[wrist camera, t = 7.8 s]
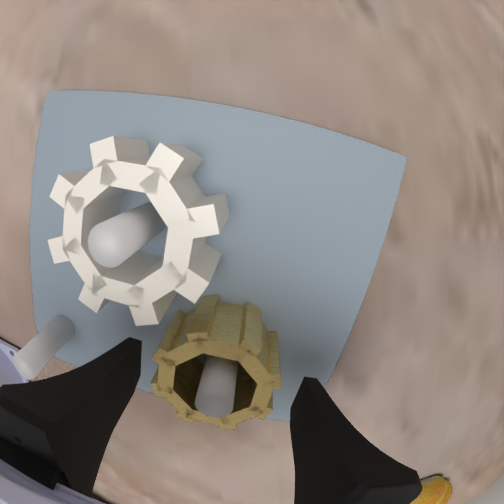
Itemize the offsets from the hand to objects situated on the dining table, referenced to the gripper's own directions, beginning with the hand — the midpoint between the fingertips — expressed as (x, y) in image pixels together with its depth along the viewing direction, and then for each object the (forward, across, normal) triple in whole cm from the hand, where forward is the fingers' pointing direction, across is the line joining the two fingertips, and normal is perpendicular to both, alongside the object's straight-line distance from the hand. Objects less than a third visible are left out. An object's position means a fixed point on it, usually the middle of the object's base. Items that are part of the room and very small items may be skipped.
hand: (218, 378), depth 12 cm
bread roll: (+4, -25, +19) cm, 32 cm away
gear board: (+4, +3, -3) cm, 6 cm away
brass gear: (+3, 0, 0) cm, 3 cm away
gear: (+3, +4, -6) cm, 8 cm away
